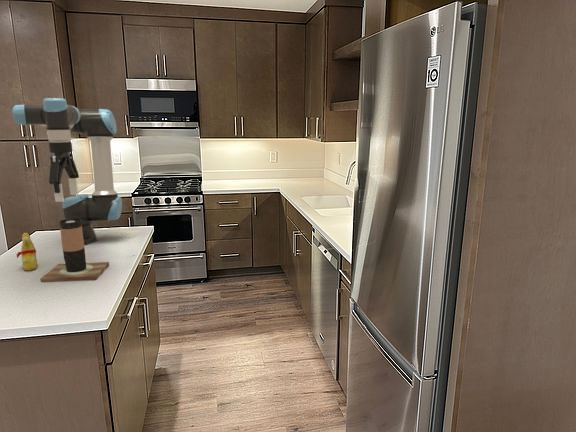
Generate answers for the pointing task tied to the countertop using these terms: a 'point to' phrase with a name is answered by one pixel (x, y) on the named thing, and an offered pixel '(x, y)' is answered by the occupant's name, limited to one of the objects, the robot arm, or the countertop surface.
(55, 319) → the countertop surface
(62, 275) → the walnut board
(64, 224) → the travel mug
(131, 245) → the countertop surface
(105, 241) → the countertop surface
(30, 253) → the chocolate bunny
